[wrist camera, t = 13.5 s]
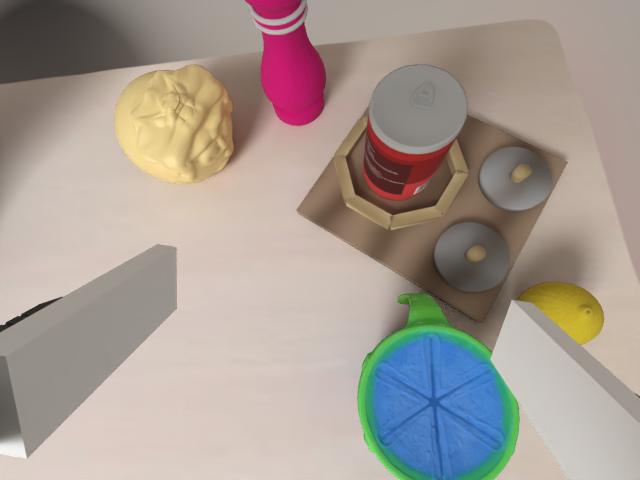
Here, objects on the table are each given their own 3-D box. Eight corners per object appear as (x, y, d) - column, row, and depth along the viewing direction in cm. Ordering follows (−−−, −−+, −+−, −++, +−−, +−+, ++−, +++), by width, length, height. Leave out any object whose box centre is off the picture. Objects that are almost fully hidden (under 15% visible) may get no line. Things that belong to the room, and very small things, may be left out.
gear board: (297, 213, 36) (292, 201, 33) (387, 84, 40) (391, 61, 36) (478, 322, 32) (494, 322, 28) (561, 166, 35) (584, 149, 32)
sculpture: (220, 210, 37) (171, 165, 27) (135, 177, 39) (59, 124, 29) (261, 128, 40) (231, 59, 29) (179, 102, 42) (123, 27, 31)
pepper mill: (296, 140, 39) (248, -42, 20) (259, 105, 41) (180, -95, 21) (339, 104, 40) (334, -105, 20) (301, 70, 41) (262, -151, 22)
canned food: (434, 141, 36) (470, 65, 26) (429, 207, 34) (467, 154, 24) (366, 135, 37) (374, 59, 26) (358, 199, 35) (363, 145, 25)
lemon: (518, 276, 33) (572, 261, 25) (570, 311, 32) (643, 306, 24) (489, 319, 32) (535, 317, 24) (540, 357, 31) (606, 367, 23)
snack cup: (360, 293, 34) (367, 280, 24) (464, 304, 32) (516, 295, 23) (347, 462, 30) (348, 530, 20) (465, 481, 29) (527, 563, 19)
